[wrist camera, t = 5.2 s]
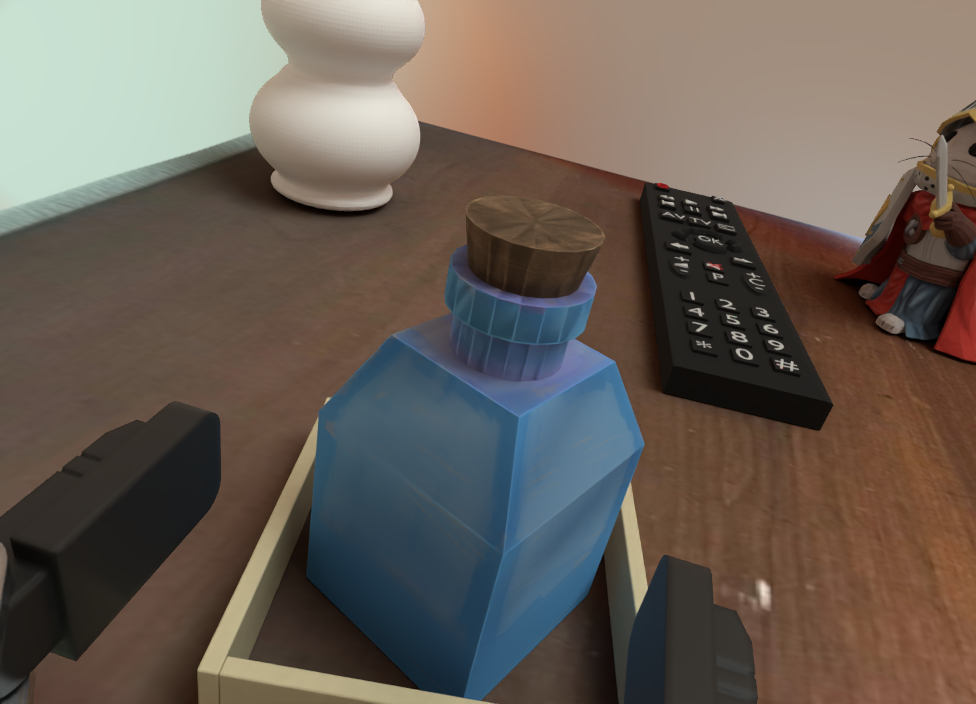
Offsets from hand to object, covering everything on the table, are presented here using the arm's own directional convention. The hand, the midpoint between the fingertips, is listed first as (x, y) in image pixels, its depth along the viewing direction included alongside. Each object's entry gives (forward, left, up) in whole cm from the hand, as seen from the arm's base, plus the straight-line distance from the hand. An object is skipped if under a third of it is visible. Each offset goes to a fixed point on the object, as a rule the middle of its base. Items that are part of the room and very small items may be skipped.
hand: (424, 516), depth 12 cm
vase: (+38, +11, -9) cm, 40 cm away
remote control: (+36, -15, -9) cm, 39 cm away
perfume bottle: (+6, -1, -9) cm, 11 cm away
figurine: (+37, -29, -9) cm, 47 cm away
